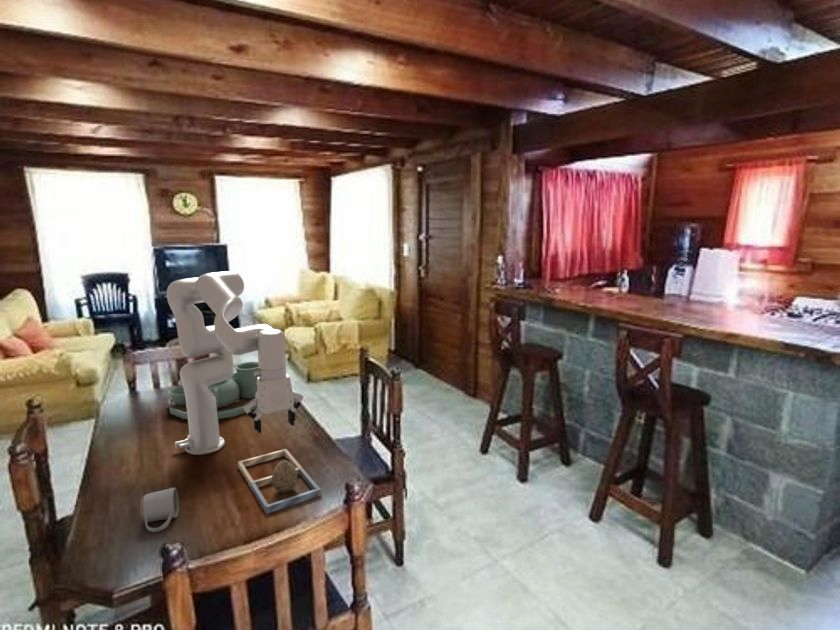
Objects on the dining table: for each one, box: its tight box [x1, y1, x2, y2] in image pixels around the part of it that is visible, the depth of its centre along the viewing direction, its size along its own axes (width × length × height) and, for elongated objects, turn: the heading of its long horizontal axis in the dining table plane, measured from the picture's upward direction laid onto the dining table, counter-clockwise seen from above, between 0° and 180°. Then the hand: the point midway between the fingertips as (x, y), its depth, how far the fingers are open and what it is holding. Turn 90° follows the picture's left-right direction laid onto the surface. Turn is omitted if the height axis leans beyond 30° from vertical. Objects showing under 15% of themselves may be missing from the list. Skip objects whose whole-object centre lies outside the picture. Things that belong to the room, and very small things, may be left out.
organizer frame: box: [237, 448, 322, 515], centre depth 148 cm, size 16×30×2 cm, turn 34°
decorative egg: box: [271, 459, 298, 494], centre depth 141 cm, size 7×7×10 cm
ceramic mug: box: [140, 487, 180, 533], centre depth 128 cm, size 11×8×8 cm
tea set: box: [168, 361, 259, 421], centre depth 208 cm, size 40×40×16 cm
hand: (275, 427), depth 141 cm, fingers open, 9 cm apart
